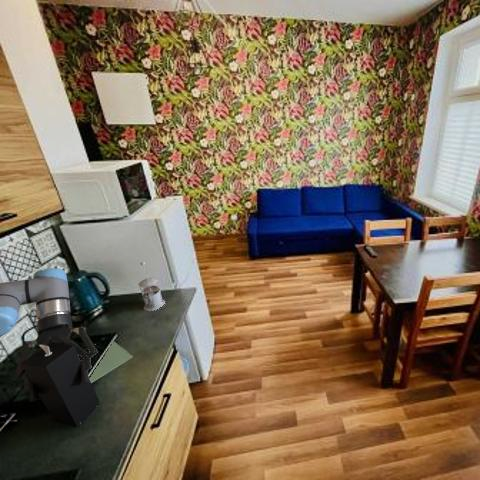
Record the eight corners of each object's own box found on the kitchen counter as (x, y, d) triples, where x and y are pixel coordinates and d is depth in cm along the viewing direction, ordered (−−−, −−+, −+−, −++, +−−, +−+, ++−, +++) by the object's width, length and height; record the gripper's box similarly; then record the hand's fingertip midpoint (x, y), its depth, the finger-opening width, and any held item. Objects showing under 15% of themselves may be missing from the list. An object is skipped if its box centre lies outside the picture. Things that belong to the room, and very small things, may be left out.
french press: (151, 313, 130) (138, 268, 120) (137, 307, 135) (122, 263, 125) (169, 302, 138) (158, 259, 129) (155, 296, 143) (143, 255, 133)
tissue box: (79, 399, 88) (47, 333, 77) (100, 403, 87) (70, 336, 76) (54, 423, 81) (14, 354, 70) (77, 427, 80) (40, 358, 69)
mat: (54, 367, 101) (54, 366, 101) (109, 337, 115) (108, 337, 115) (77, 392, 91) (76, 391, 91) (133, 356, 106) (132, 356, 105)
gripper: (104, 307, 91) (113, 373, 85) (9, 332, 80) (12, 410, 74) (97, 302, 85) (106, 373, 79) (-7, 328, 74) (-5, 413, 68)
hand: (61, 391), depth 76 cm, fingers closed on tissue box, 10 cm apart
